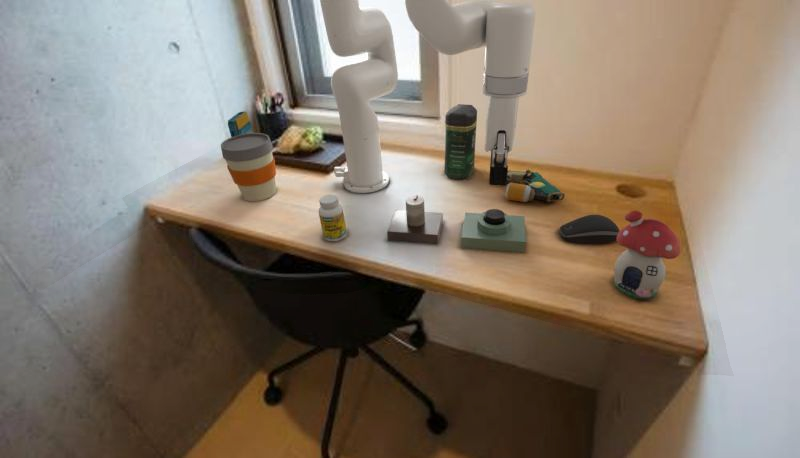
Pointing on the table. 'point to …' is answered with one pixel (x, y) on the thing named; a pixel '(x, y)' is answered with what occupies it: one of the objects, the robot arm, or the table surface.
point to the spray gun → (530, 187)
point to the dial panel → (415, 228)
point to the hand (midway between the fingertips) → (497, 174)
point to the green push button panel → (494, 233)
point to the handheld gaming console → (240, 124)
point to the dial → (415, 211)
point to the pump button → (494, 217)
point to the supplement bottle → (332, 218)
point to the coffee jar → (460, 141)
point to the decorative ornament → (643, 256)
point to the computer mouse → (590, 230)
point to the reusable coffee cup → (251, 165)
